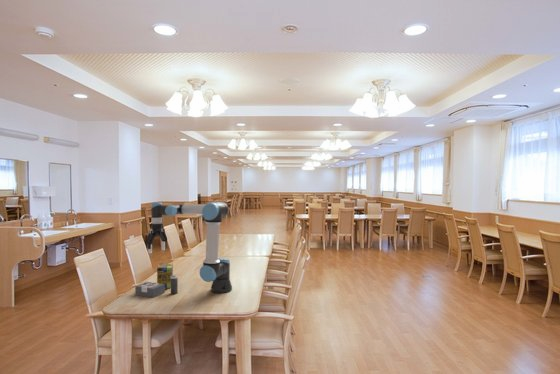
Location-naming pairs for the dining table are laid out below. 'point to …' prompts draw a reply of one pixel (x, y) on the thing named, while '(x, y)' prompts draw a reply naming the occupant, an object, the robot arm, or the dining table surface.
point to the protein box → (165, 274)
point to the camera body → (150, 289)
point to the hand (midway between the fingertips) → (156, 251)
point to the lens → (174, 284)
